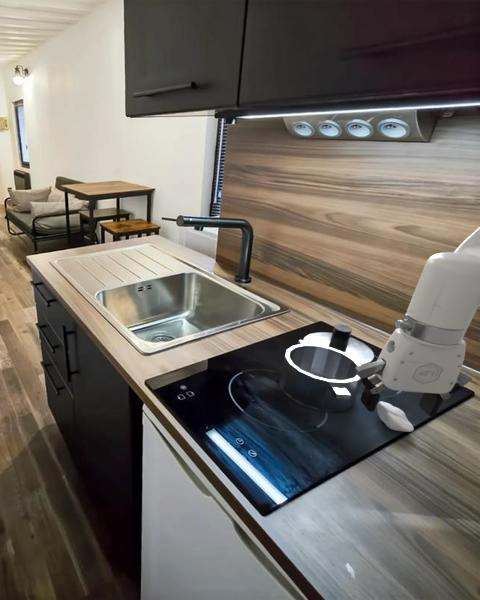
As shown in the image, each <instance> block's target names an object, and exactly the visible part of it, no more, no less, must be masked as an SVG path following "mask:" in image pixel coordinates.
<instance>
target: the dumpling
mask: <svg viewBox="0 0 480 600" xmlns="http://www.w3.org/2000/svg"><path fill="white" fill-rule="evenodd" d="M376 412H377V415H378V417H379V419H380V420H381V421H382V422H383V423H384V424H385V426H386V427H387V428H388V429H390V430H392V431H396V432H406V433H410V432H413V431H414V430H415V428H414V426H413V424H412V423H411V422H410V421H409V419H408V418H407V415H406V413H405V412H404V410H403V409H400V408H399V407H396V406H393V405H392V404H391V403H388V402H387V401H386V402H385V401H383V400H382V401H380V400H379V401H378V403H377V406H376Z"/></svg>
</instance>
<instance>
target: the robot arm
mask: <svg viewBox="0 0 480 600" xmlns="http://www.w3.org/2000/svg"><path fill="white" fill-rule="evenodd" d="M478 308H480V226H479V227H478V228H477V229H476V230H475V231H474V232H472V234H470V235H469V236H468V237H467V238H466V239H465V240H464V241H462V243H460V245H459V246H457V248H456V249H455V250H454V251H452V252H451V251H447V252H446V251H445V252H439V253H434V254H433V255H431V256H430V257H429V258H427V260H426V262H425V264H424V266H423V269H422V271H421V274H420V276H419V279H418V282H417V284H416V287H415V289H414V291H413V293H412V296H411V299H410V302H409V304H408V307H407V309H406V312H405V314H404V315H403V318H402V319H400V320H399V319H397V320H395V322H394V327H395V329H394V331H393V332H392V333H391V334H390V336H389V337H388V339H387V341H386V342H385V344H384V345H383V347H382V349H381V351H380V353H379V354H378V358H377V360H375V361H374V360H373V361H372V362H371V363H367V364H364V365H360V366H357V367H356V368H355V370H356V373H357V375H358V379H359V380H360V381H361V384H362V385H363V386H364V387H363V391H362V394H361V397H360V401H361V403H362V404H363V406H364V407H365V408H366V410H367V411H368V412H370V413H371V412H372V413H373V412H375V410H376V409H377V405H378V402H380V398H381V395H380V392H382V391H384V390H386V389H388V390H391V391H398V392H406V393H407V392H410V393H423V395H422V397H421V398H420V401H419V402H418V406H419V407H420V408H421V409H422V410H423V411H424V412H425V413H426V414H427V416H429V417H431V418H432V417H433V418H435V417H436V415H437V413H438V411H439V409H440V408H441V405H442V404H443V401H444V400H448V399H450V398H451V395H452V394H455V393H457V392H459V391H461V390H462V387H464V386H465V385H467V384H468V383H470V382H471V381H472V380H473V377H472V376H470V375H469V374H468V373H467V372H465V371H463V370H462V367H463V364H464V360H465V356H466V348H467V342H466V341H465V339H464V337H465V335H466V332H467V331H468V329H469V326H470V325H471V323H472V320H473V318H474V316H475V314H476V312H477V310H478ZM372 373H373V374H372ZM370 374H372V375H370ZM369 375H370V376H369ZM379 381H380V382H379ZM377 382H378V383H377ZM375 383H376V384H375Z"/></svg>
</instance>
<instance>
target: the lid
mask: <svg viewBox="0 0 480 600" xmlns="http://www.w3.org/2000/svg"><path fill="white" fill-rule="evenodd" d="M352 332H353V328H352V327H350V326H348V325H345V324H340V323H339V324H335V325H333V330H332V332H325V331H320V332H319V331H318V332H313V333H312V332H311V333H309V334H307V335H306V336H304V337H303V340H310V341H311V342H312V344H316V345H322V346H327V347H331V348H334V349H336V350H339V351H342V352H344V353H346V354H348V355H349V356H351V357H353V358H354V359H356V360H357V361H358V362H359V364H360V365H364V364H367V363H371V362H374V359H375V353H374V351H373V350H372V349H371V347H369V346H368V345H367V344H366V343H364V342H362V341H360V340H358V339H356V338H353V337H351V336H352Z"/></svg>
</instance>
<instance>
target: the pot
mask: <svg viewBox="0 0 480 600" xmlns="http://www.w3.org/2000/svg"><path fill="white" fill-rule="evenodd" d="M357 366H360V364H359V362H358V361H357V360H356V359H354V358H353V357H351V356H349V355H348V354H346V353H344V352H342V351H339V350H336V349H334V348H331V347H327V346H322V345H316V344H312V342H311V341H310V340H304V339H298V343H297V344H294V345H292V346H290V347H289V348H287V349H286V350H285V355H284V359H283V363H282V368H281V372H280V375H279V380H278V384H279V387H280V389H281V391H282V392H283V394H284V395H285V396H286V397H287V398H289V399H290V400H292V401H293V402H294V403H297V404H298V405H300V406H302V407H305V408H307V409H310V410H312V411H316V412H321V413H331V414H335V413H336V414H337V413H343V412H346V411H347V410H349V409H350V408H352V406H353V405H354V403H355V401H356V398H357V396H358V393H359V390H360V388H361V387H360V386H361V384H362V382H361V381H360V380H359V379H358V375H357V373H356V370H355V368H356V367H357Z"/></svg>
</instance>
